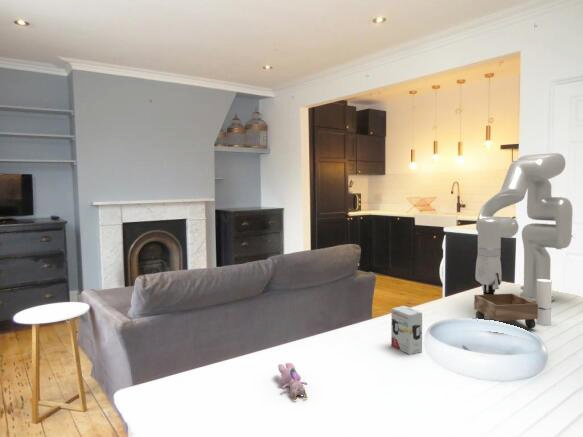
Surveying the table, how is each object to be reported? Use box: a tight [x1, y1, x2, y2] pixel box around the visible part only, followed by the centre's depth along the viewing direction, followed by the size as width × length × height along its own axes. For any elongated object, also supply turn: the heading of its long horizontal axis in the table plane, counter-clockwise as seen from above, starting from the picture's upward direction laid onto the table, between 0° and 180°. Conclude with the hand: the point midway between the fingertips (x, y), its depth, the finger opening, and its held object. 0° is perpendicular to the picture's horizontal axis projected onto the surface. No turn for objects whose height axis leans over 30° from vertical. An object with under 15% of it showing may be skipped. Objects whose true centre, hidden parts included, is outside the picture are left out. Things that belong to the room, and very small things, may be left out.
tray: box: [473, 293, 538, 329], centre depth 143 cm, size 14×14×9 cm
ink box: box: [390, 305, 423, 355], centre depth 124 cm, size 9×5×12 cm, turn 25°
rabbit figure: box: [277, 362, 308, 401], centre depth 102 cm, size 6×6×15 cm
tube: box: [535, 279, 553, 326], centre depth 144 cm, size 4×4×15 cm
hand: (488, 302), depth 153 cm, fingers closed
